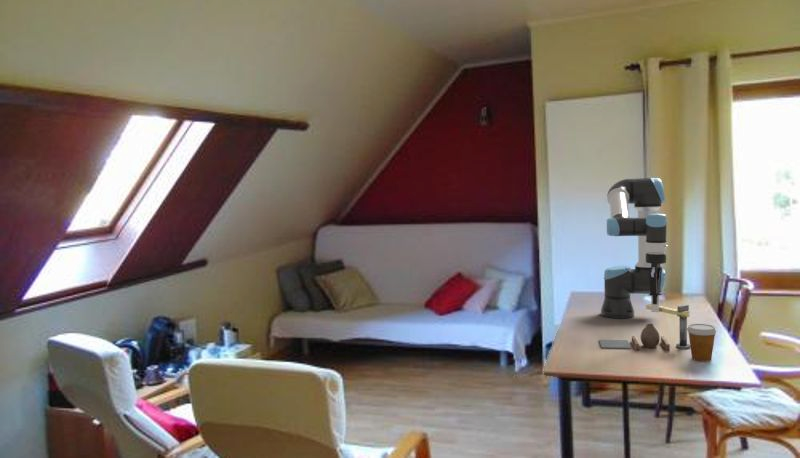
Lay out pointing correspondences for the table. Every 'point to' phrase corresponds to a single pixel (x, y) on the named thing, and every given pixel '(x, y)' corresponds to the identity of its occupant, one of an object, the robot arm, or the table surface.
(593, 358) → the table surface
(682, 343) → the post
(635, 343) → the cradle
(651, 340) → the vase
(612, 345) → the mat
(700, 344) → the disposable coffee cup
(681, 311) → the latch
